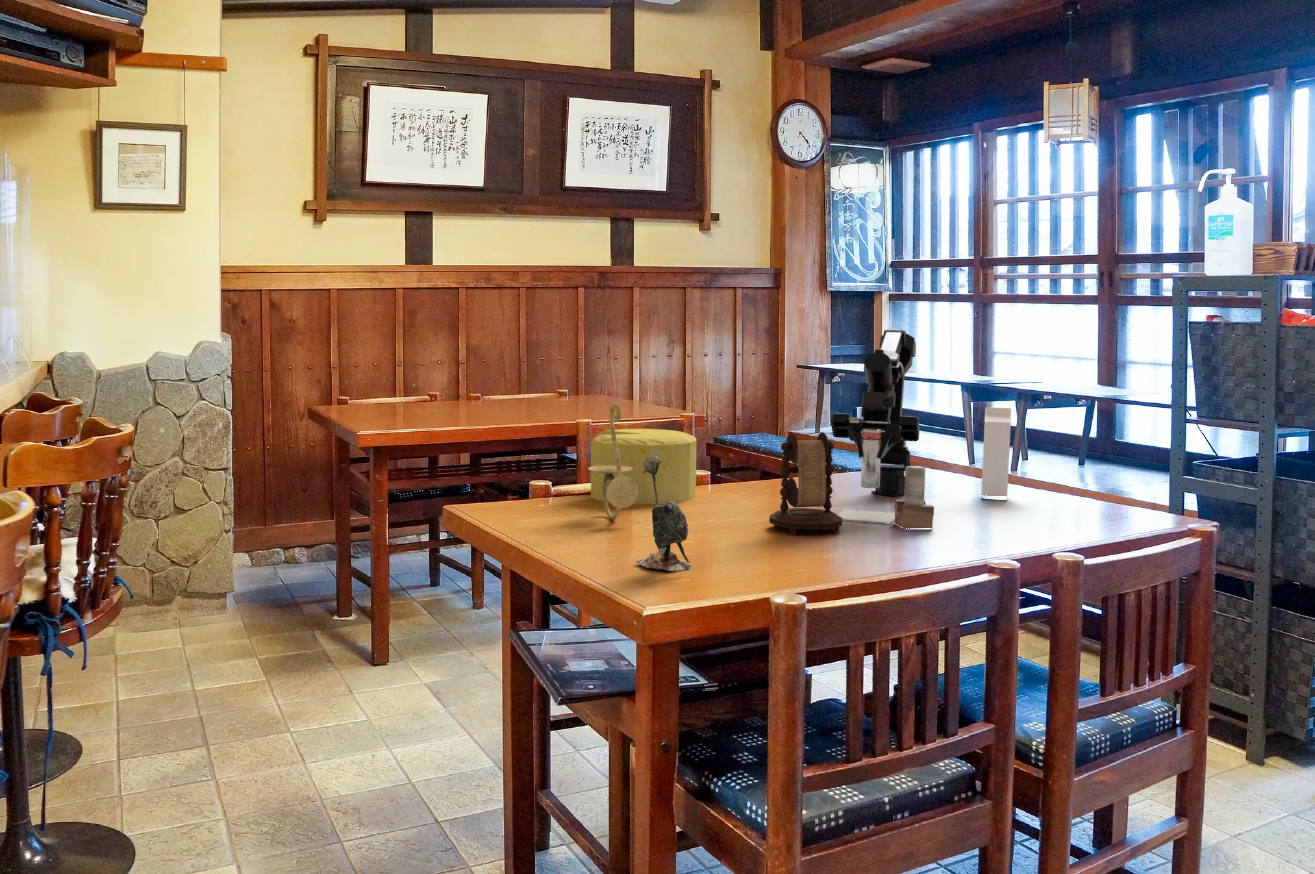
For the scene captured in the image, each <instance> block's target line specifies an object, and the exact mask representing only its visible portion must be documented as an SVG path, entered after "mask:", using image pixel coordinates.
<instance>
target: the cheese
mask: <svg viewBox="0 0 1315 874" xmlns="http://www.w3.org/2000/svg"><path fill="white" fill-rule="evenodd" d="M615 434H616V439H617V445H618V450H619V456H620V464H621V466H627V467H631V468H633V469H632V471H630V472H626V473H621V474H622V476H626V477H629V478H631V479H632V480H634V482H635V483H636V485H637V487H638V496H637V499H636V501H635V502H634V503H633V504H632V505H656V498H655V488H654V484H653V479H652V474H650V473H648V472H646V473H645V474H643V472H644V470H645V467H644V465H643V464H644V463H643V462H644V461H645V460H646V457H647V456H648V454H649V453H653V454H655V455H656V456H657V457H658V458H659V460H660V462H661V463H660V464H659V468H658V471H657V474H656V475H655V478H656V483H655V486H656V491H657V501H658V503H662V502H669V501H674V502H675V503H682V502H687V501H691V500H692V499H695V498H696V488H697V487H696V486H697V485H696V484H697V483H696V482H697V438H696V437H695V436H694V435H691V434H689V433H686V432H684V431H678V430H670V429H662V428H661V429H657V428H656V429H655V428H622V429H621V428H620V429H618V428H617V429H615ZM590 443H591V444H590V467H592V466H602V465H616V460H615V453H614V448H613V442H612V437H611V432H610V429H607V430H603V431H601V432H599V433H598V434H597V435H596V436H595V437H593V438H592V439H591V441H590ZM604 476H605V474H602V473H595V472H591V471H590V499H592V498H593V499H592V500H596V501H599V502H603V480H604ZM613 476H614V478H617V474H613ZM610 482H611V480H610ZM608 483H609V480H608V482H607V488H608ZM607 501H608V503H610V502H609V500H608V498H607Z"/></svg>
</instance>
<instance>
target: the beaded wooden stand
mask: <svg viewBox="0 0 1315 874" xmlns="http://www.w3.org/2000/svg"><path fill="white" fill-rule="evenodd" d="M780 448H781V449H780V450H782V452H781V454H782V455H783V456H782V458H781V464H782V465H780V467H779V473H780V474H781V477H782V480H781V482H780V485H781V488H780V490H779V495H780V496H782V497H780V500H781V503H780V505H779V508H780V510H777V511H774V512H773V513H771V514H769V518H768V519H769V520H768V521H769V524H771V525H772V526H774V527H780V528H785V529H789V532H790V534H791V536H795V534H796V531H797V530H807V531H808V530H813V531H814V530H817V531H818V530H830V529H833V531H834V533H835V534H838V533H839V530H840V527H841V526H842V525H843V521H842V518H841V517H840V516H838V514H837V513H835V512H833V511H831V509H832V501H831V498H832V496H831V495H832V494H833V492H834V491H833V490H834V489H833V487H832V486H831V485H832V484H833V482H832V477H831V476H833V473H834V471H835V466H834V464H832V462H833V461H834V460H833V456H832V454H833V453H834V451H833V450H834V448H835V444H834V443H833V441H831V440H829V438H828V436H827V434H826V433H825V432H819V433H818V435H817V438H816V439H812V440H807V439H805V440H803V439H802V440H798V438H797V435H796V434H795V433H794V432H790V433H789V434H788V435H787V437H786V441H784V442H783V443H781V445H780ZM790 461H791V462H792V464H793V465H795V464H796V465H797V466H792V467H791V466H790V465H789V464H790ZM791 473H792V474H797V476H798V477H797V478H798V483H796V480H795V479H794V477H789V476H790V474H791ZM797 484H798V486H797ZM789 505H790V506H792V507H793V508H792V507H791V508H789ZM813 507H814V508H813ZM816 507H817V508H816ZM818 507H819V508H818ZM821 507H823V509H820V508H821Z"/></svg>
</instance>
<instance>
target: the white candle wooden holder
mask: <svg viewBox="0 0 1315 874" xmlns="http://www.w3.org/2000/svg"><path fill="white" fill-rule="evenodd" d="M904 476H905V494H904V495H903V496H904V499H894V513H895V520H894V523H896V524H898V525H899V526H901V527H903V529H906V528H907V529H908V528H909V529H910V528H932V529H933V527H934V526H933V525H934V522H933V521H934V519H933V518H934V517H935V506H934V505H933V504H926V500H925V490H926V489H925V486H926V467H924V466H920V465H911V466H906V469H905V471H904ZM896 524H895V525H896ZM899 526H898V527H899ZM903 529H902V530H903Z"/></svg>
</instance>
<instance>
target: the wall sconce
mask: <svg viewBox="0 0 1315 874" xmlns="http://www.w3.org/2000/svg"><path fill="white" fill-rule="evenodd" d="M615 411H616V414H615ZM608 415H609V417H608V418H609V419H608V420H609V430H610V432H611V437H612V442H613V448H614V453H615V460H616V465H602V466H592V467H591V466H589V467H587V469H588V471H590V473H591V472H595V473H602V474H605V476H604V480H603V501H602V502H603V508H604V511H605V513H606V514H605V515H606V516H607V517H608V518H609V519H610V520H611V521H613V520H614V521H615V520H617V519H618V517H619V516H620V514H621V510H622V509H627V508H629V507H631V506H632V505H634V504H633V503H634V502H635V501H636V499H637V496H638V487H637V485H636V483H635V482H634V480H632V479H631V478H629V477H626V476H622V474H621V473H626V472H630V471H632V469H633V468H631V467H627V466H621V464H620V456H619V450H618V445H617V439H616V434H615V430H616V429H615V423H619V422H620V421H621V418H622V410H621V406H620V404H619V403H617V402H613V403H612V404H611V406H610V408H609V414H608ZM613 474H617V478H614V476H613ZM608 480H609V483H608V488H607V482H608ZM610 480H611V482H610ZM607 498H608V500H609V502H608V501H607ZM609 504H611V506H613V507H615V508H616V509H615V511H614V514H613V513H612V512H611V510H610V506H609Z"/></svg>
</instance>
